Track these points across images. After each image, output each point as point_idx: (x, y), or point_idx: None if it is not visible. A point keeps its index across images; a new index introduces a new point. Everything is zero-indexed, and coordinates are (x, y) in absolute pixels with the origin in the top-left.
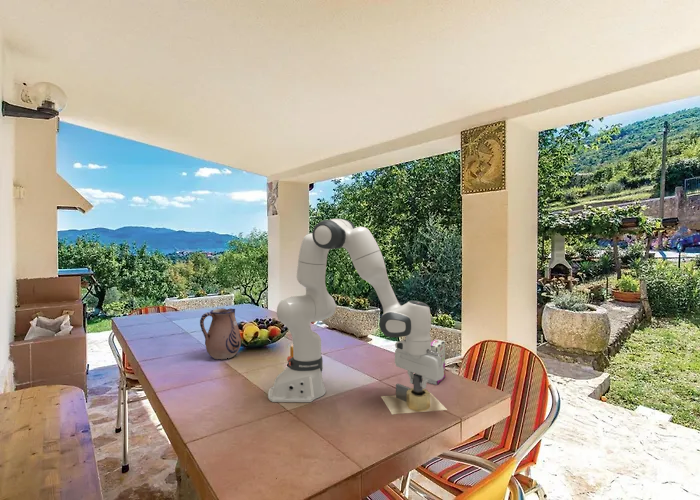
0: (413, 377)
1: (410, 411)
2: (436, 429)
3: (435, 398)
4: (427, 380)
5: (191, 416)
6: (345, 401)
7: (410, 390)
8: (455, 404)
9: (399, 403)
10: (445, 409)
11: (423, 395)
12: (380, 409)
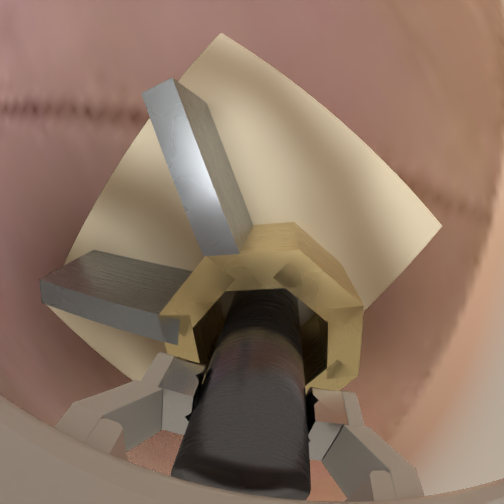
0: (156, 408)
1: None
2: (419, 388)
3: (303, 98)
4: (388, 455)
5: None
6: (17, 371)
7: (188, 356)
8: (411, 61)
9: None
10: (432, 230)
11: (332, 380)
12: (123, 377)
